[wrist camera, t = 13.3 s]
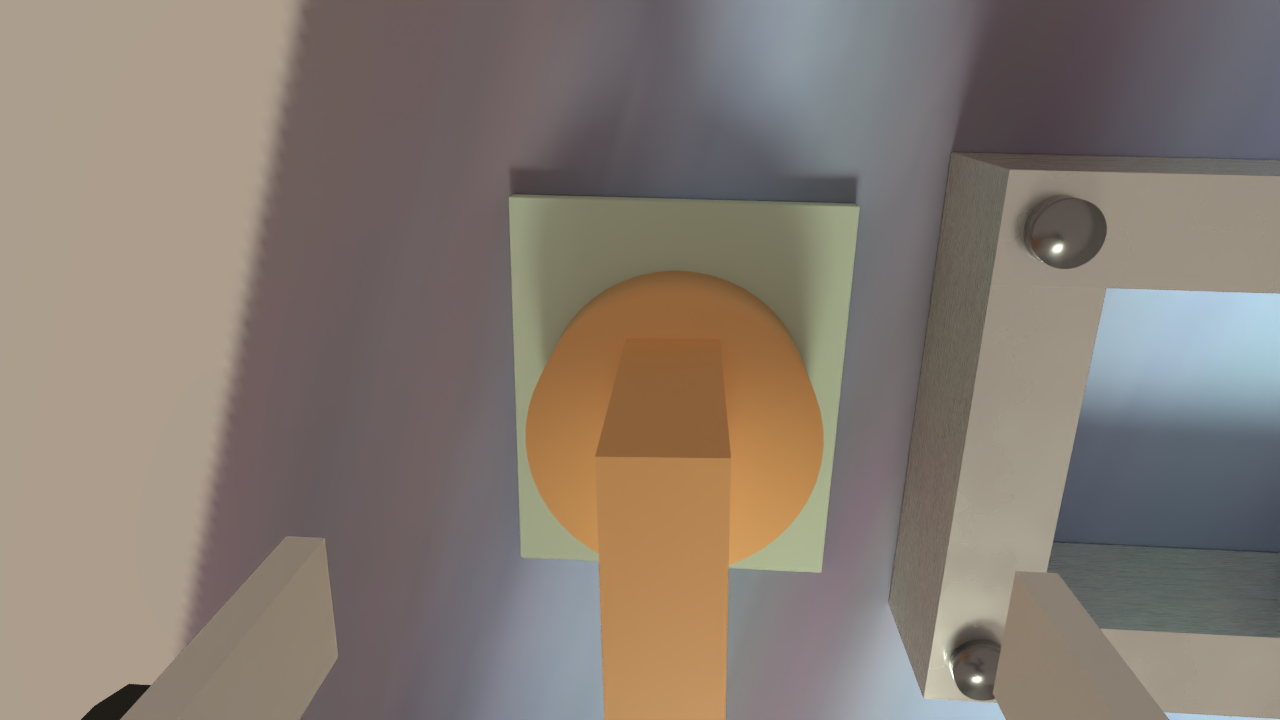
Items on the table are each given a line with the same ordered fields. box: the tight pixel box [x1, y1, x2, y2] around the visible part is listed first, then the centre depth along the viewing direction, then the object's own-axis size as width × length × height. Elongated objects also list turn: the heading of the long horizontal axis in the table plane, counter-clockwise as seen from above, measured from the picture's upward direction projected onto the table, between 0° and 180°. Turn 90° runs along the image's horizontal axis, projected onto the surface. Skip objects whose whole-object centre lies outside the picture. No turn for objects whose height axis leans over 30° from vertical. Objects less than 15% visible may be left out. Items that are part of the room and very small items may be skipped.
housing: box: [889, 152, 1280, 719], centre depth 23 cm, size 15×15×5 cm
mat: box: [509, 194, 860, 573], centre depth 26 cm, size 12×10×1 cm
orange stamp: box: [526, 271, 824, 720], centre depth 20 cm, size 8×8×10 cm
